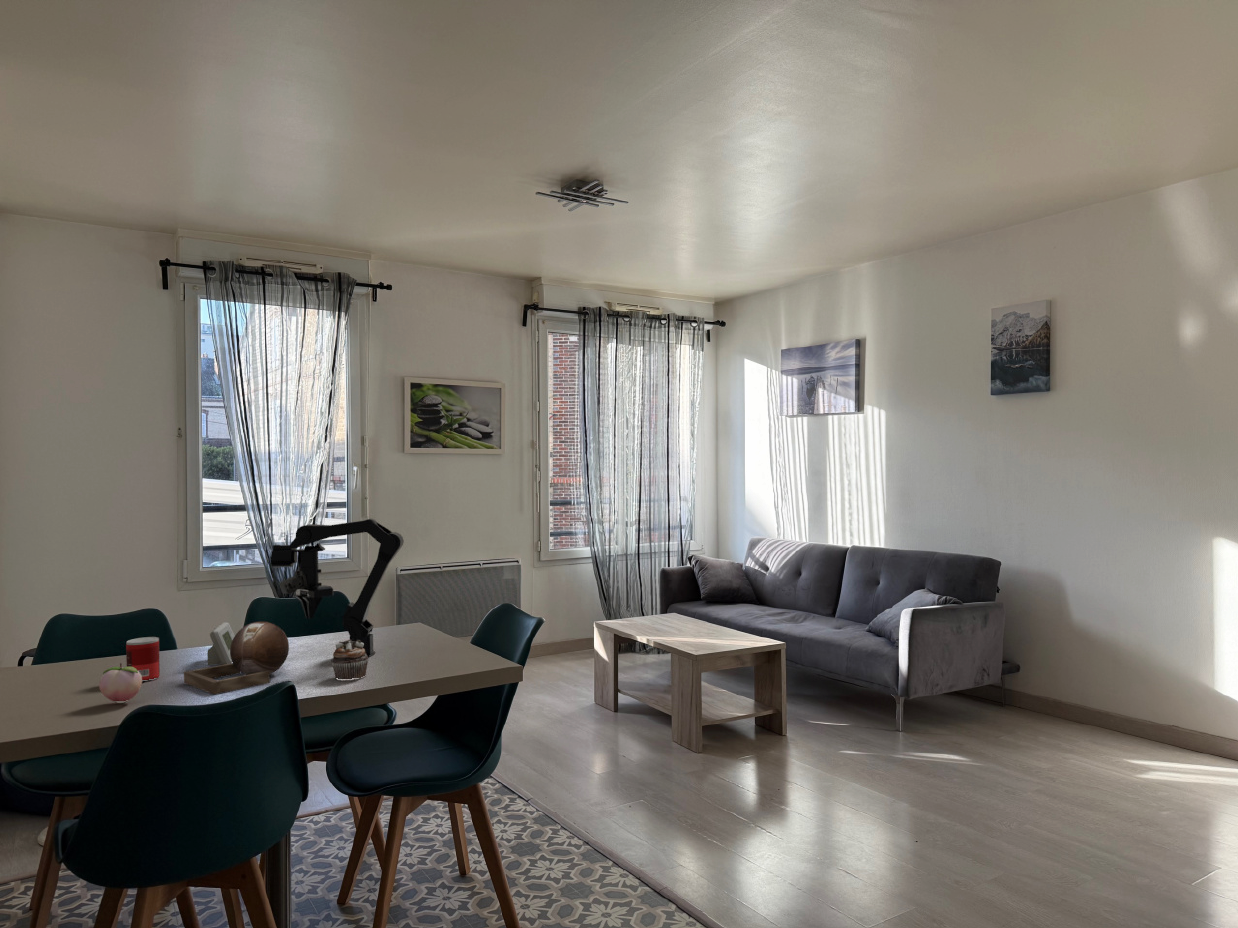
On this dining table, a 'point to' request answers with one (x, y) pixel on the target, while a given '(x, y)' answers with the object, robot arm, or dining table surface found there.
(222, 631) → the digital clock
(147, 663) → the canned food
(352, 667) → the cupcake
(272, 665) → the wooden sphere
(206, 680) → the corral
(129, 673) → the decorative fruit
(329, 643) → the dining table surface
